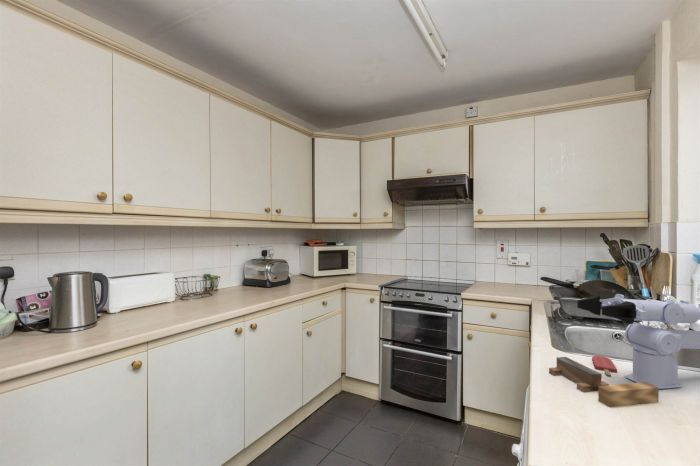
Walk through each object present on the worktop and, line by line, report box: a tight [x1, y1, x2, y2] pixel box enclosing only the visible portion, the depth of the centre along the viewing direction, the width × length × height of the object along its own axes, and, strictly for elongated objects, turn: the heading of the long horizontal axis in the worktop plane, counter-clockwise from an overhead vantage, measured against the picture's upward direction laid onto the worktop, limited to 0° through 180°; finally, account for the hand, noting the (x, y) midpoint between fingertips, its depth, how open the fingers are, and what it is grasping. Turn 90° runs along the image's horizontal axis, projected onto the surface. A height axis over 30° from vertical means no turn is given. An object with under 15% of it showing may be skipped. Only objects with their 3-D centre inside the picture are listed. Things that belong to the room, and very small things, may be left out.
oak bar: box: [597, 382, 660, 408], centre depth 83 cm, size 14×3×4 cm, turn 99°
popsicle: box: [591, 355, 618, 377], centre depth 104 cm, size 5×2×15 cm
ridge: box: [548, 356, 611, 393], centre depth 94 cm, size 8×12×4 cm, turn 9°
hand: (590, 307), depth 90 cm, fingers open, 7 cm apart
